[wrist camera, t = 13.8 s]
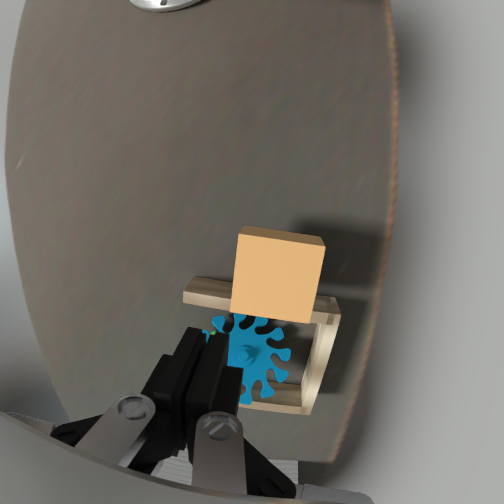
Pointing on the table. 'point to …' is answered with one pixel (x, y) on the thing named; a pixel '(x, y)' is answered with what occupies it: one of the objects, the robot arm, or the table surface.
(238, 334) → the gear
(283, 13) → the table surface
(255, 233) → the block
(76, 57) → the table surface
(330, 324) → the chassis bay
